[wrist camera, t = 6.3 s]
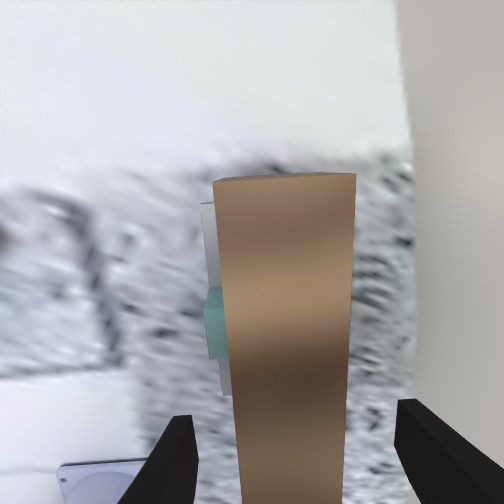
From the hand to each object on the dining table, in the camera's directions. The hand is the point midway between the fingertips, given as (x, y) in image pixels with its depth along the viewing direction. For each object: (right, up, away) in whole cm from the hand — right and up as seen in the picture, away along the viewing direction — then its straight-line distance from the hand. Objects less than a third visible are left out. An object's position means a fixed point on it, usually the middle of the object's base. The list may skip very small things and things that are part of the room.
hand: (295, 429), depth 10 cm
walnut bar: (0, +3, +6) cm, 6 cm away
